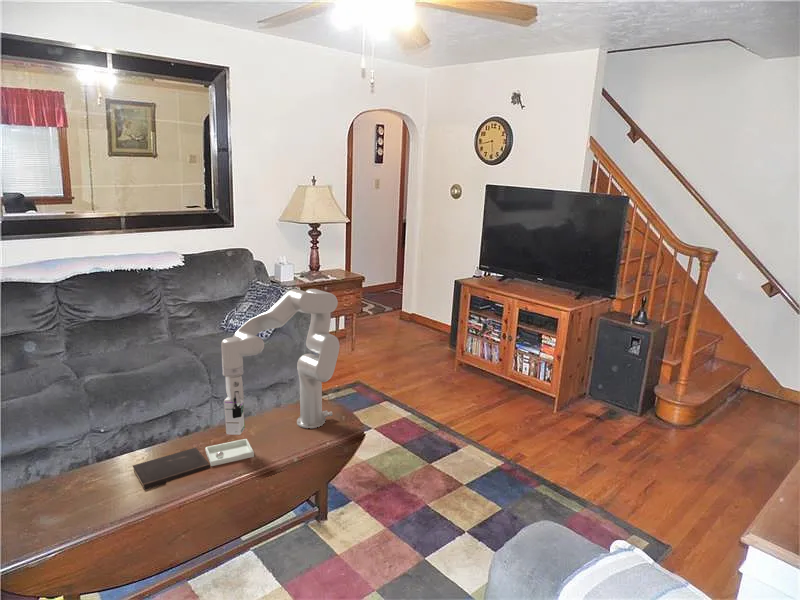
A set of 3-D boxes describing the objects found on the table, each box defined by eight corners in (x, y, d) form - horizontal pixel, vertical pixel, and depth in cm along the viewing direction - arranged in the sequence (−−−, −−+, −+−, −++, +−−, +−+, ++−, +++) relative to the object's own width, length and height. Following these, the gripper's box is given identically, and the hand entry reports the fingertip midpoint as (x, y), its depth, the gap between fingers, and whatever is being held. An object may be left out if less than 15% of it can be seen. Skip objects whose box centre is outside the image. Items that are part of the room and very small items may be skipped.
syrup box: (240, 435, 208) (239, 400, 204) (225, 434, 208) (223, 399, 204) (245, 428, 213) (243, 394, 210) (230, 427, 213) (228, 393, 210)
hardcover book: (133, 471, 199) (132, 465, 198) (196, 452, 213) (195, 447, 212) (144, 491, 187) (143, 485, 186) (210, 470, 201) (210, 464, 200)
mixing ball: (223, 456, 209) (222, 449, 208) (224, 459, 206) (224, 452, 205) (215, 457, 207) (214, 450, 206) (216, 461, 205) (216, 454, 204)
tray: (246, 444, 219) (246, 438, 219) (254, 457, 209) (253, 452, 208) (205, 452, 212) (205, 447, 211) (211, 467, 201) (210, 461, 201)
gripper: (248, 376, 199) (250, 420, 203) (237, 361, 214) (239, 402, 218) (227, 379, 195) (229, 424, 199) (218, 364, 210) (220, 406, 214)
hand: (234, 412), depth 208 cm, fingers closed on syrup box, 7 cm apart
